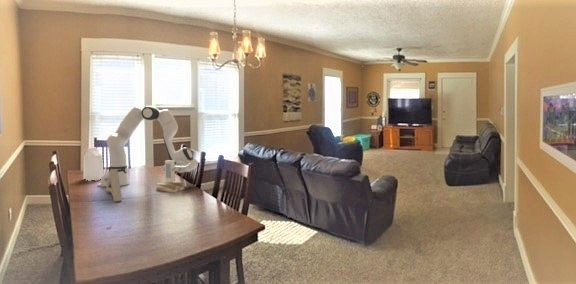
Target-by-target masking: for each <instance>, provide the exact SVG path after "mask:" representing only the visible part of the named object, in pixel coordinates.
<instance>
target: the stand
mask: <svg viewBox="0 0 576 284" xmlns="http://www.w3.org/2000/svg"><path fill="white" fill-rule="evenodd" d="M155 186H156V187H155V191H161V192H169V193H170V192H171V193H175V192H179V190H180V191H182V190H185V183H184V182H181V181H180V182H179V181H178V182H177V181H174V182H166V180H165V181H164V183H156V185H155Z"/></svg>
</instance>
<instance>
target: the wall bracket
mask: <svg viewBox="0 0 576 284" xmlns="http://www.w3.org/2000/svg"><path fill="white" fill-rule="evenodd" d="M105 187H106V188H105V190H106V193H107V194H111V195H112V199H113V203H120V202H122V201H123V199H122V191H121V186H120V184H119V177H118V170H117V169H111V170H110V172H109V177H108V182H107V186H105Z"/></svg>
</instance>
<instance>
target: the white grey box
mask: <svg viewBox="0 0 576 284" xmlns="http://www.w3.org/2000/svg"><path fill="white" fill-rule="evenodd" d="M164 165H165V170H164V174H165V175H164V176H165V181H166V182H176V171H172V169H173V168H175V164H174V160H169V159H166V160H164Z"/></svg>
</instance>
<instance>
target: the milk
mask: <svg viewBox="0 0 576 284" xmlns="http://www.w3.org/2000/svg"><path fill="white" fill-rule="evenodd" d="M102 156H103V155H102V154H101V153H100V151H99V150H98V147H96V146H93V147H92V146H91V147H88V148H87V149H86V152H85V153H84V155H83V173H82V174H83V178H82V179H83V180H84V179H86V180H85V181H87V180H88V181H87V182H92V181H91V180H95V181H101V180H100V179H101V177H102V176H103V175H104V174H105V173H104V163H103V157H102Z"/></svg>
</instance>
